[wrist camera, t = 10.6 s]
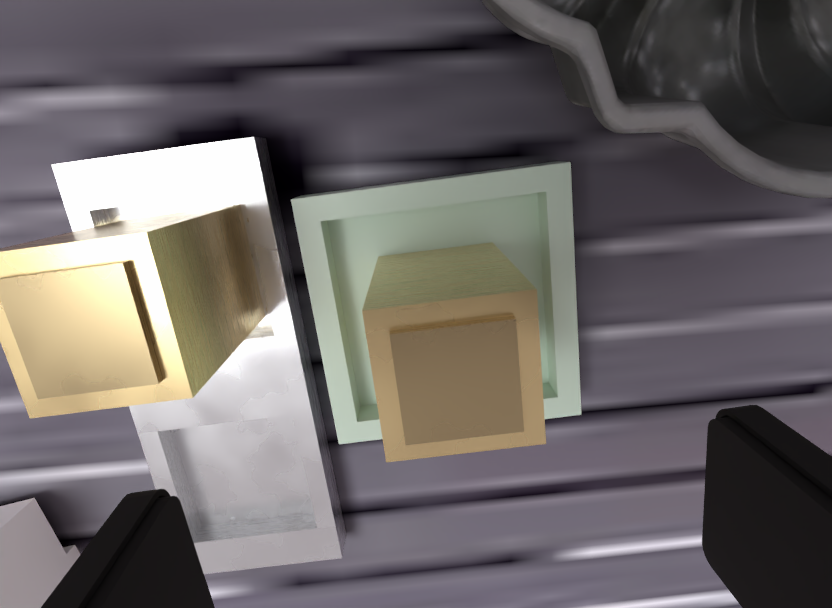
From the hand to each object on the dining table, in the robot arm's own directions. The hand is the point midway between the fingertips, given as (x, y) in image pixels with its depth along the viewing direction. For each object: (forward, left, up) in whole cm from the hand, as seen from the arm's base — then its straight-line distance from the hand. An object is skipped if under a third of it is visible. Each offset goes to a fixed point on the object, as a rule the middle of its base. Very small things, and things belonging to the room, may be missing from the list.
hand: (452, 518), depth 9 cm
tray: (0, +1, -15) cm, 15 cm away
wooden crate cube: (0, +1, -14) cm, 14 cm away
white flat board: (+2, -10, -15) cm, 18 cm away
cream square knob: (-3, -10, -14) cm, 18 cm away
